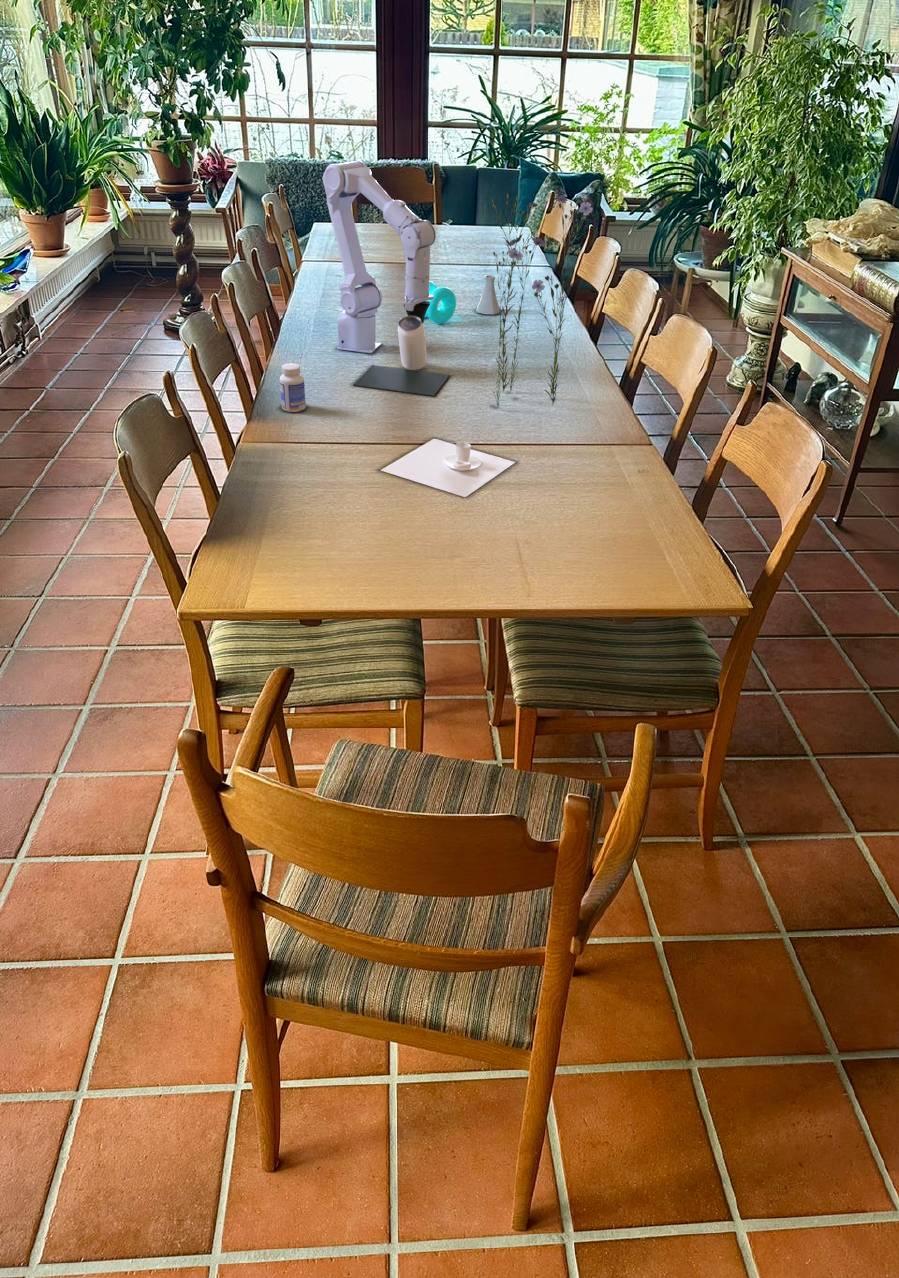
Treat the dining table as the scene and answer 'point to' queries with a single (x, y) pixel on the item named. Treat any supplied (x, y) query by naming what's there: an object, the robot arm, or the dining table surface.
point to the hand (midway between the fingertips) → (416, 332)
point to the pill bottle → (292, 388)
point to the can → (412, 342)
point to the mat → (402, 380)
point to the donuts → (446, 304)
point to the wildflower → (536, 284)
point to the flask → (488, 298)
